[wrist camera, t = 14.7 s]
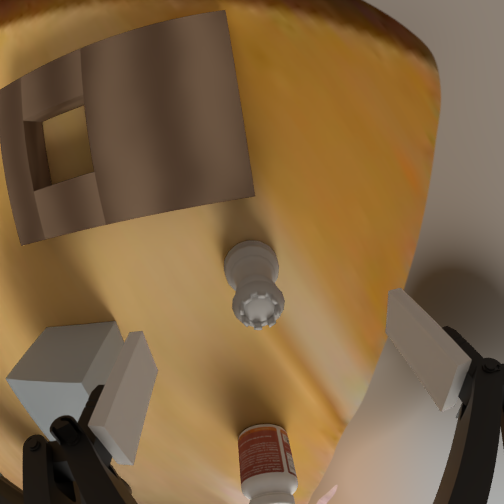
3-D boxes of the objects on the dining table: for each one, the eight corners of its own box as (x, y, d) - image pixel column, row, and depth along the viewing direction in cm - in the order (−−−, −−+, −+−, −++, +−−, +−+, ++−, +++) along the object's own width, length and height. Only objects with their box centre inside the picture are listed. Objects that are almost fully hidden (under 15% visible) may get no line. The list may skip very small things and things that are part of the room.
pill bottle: (228, 442, 33) (231, 515, 23) (254, 416, 32) (263, 497, 21) (269, 453, 34) (279, 521, 24) (297, 428, 33) (314, 502, 23)
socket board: (38, 236, 23) (21, 245, 20) (16, 94, 19) (-3, 91, 16) (252, 190, 24) (255, 196, 21) (225, 25, 19) (225, 10, 16)
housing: (79, 390, 29) (53, 445, 21) (46, 327, 26) (5, 378, 18) (145, 389, 29) (128, 454, 21) (115, 321, 26) (81, 382, 18)
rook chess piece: (286, 272, 26) (309, 321, 19) (240, 297, 27) (246, 353, 19) (261, 228, 25) (275, 264, 17) (213, 255, 25) (207, 301, 18)
